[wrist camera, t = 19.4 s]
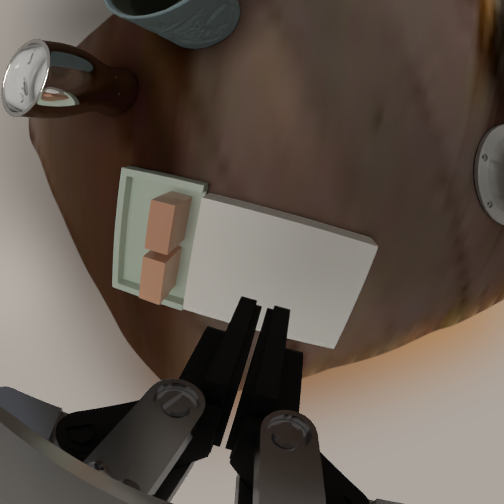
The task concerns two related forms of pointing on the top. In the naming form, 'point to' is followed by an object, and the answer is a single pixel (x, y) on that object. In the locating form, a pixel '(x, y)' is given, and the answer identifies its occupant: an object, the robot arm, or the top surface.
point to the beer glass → (64, 83)
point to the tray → (135, 227)
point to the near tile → (167, 221)
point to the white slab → (276, 267)
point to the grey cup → (182, 19)
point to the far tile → (159, 275)
